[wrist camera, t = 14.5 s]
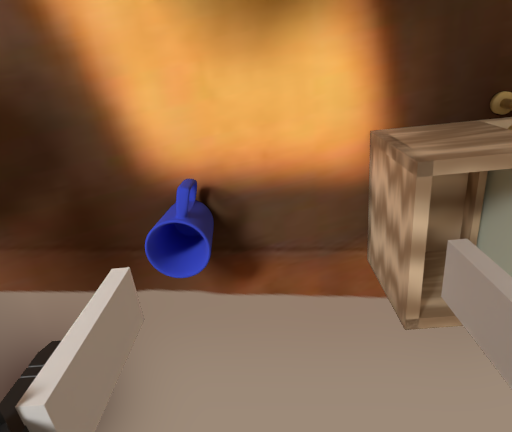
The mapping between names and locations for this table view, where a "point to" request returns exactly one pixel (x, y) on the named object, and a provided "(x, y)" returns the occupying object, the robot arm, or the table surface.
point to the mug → (182, 235)
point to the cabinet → (429, 205)
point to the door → (497, 219)
